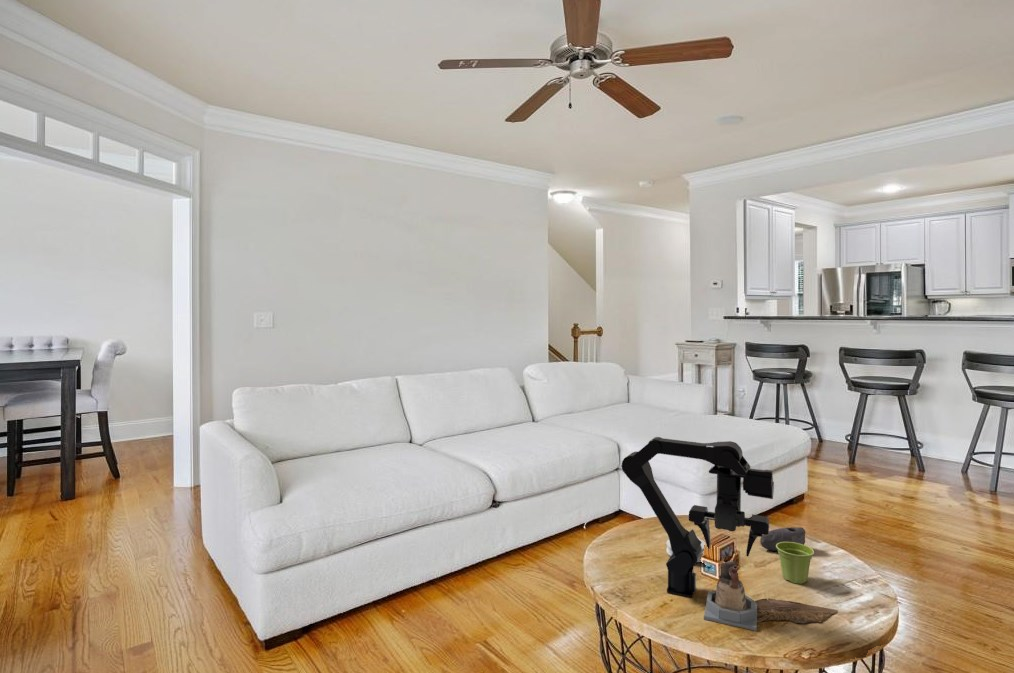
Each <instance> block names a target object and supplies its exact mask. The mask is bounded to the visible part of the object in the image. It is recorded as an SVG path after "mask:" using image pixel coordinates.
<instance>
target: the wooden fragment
mask: <svg viewBox="0 0 1014 673" xmlns="http://www.w3.org/2000/svg"><path fill="white" fill-rule="evenodd" d="M754 601H755V602H756V604H757V623H762V622H764V621H765V622H766V621H767V622H769V621H774V622H775V621H777V622H780V621H784V622H785V621H788V622H791V623H796V624H808V623H812V622H813V623H818V624H820V623H821V624H822V623H824V621H826V620H827V619H828V618H830V616H832V615H837V613H838V609H834V608H833V609H832V608H828V607H823V606H817V605H812V604H806V603H802V602H797V601H792V600H782V599H776V598H770V597H769V598H761V599H757V600H754Z"/></svg>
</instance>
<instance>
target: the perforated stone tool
mask: <svg viewBox="0 0 1014 673" xmlns="http://www.w3.org/2000/svg"><path fill="white" fill-rule="evenodd" d="M759 542H760V545H761V547H763V548H764V549H765V550H768V551H773V552H775V551H777V552H778V549H777V548H776V544H777V543H780V542H794V543H799V544H803V545H806V544H805V543H806V530H805V529H804V527H800V526H799V527H794V526H792V527H781V528H777V529H776V528H775V529H772V530H769V533H768V534H767V535H764V534H763V536H762V537H760V540H759Z"/></svg>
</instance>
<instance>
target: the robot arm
mask: <svg viewBox="0 0 1014 673" xmlns="http://www.w3.org/2000/svg"><path fill="white" fill-rule="evenodd" d="M659 454H660V455H665V456H666V455H667V456H676V457H681V458H689V459H696V460H697V459H698V460H703V461H705V462H708V463H709V464H712V465H713V466H711V468H710V469H709V470H708V474H713V475H716V505H715V507H714V511H709V510H708V507H707V506H702V505H697V504H694V505H692V506H691V508H690V509H689V511H688V521H689V522H691V523H693V525H695V526H697V527H699V529H700V530H701V532H702V534H703V539H704V542H706V544H707V547H708V549H709V550H710V549H711V530H710V528H711V527H710V520H711V521H714V527H715V529H717V530H727V531H729V532H735V531H737V527H738V528H740V527H743V528H744V527H745V526H746V527H749V534H748V540H747V546H746V552H745V553H746V557H749V555H750V553H751V551H752V548H753V545H754V543H755V541H756V539H757V538H758V537H759V538H761V537H762V536H763V534H764V535H767V534H768V533H769V531H770V519H769V517H768V516H765V515H757V514H753V513H752V515H751V517H749V518H748V517H746V513H745V511H741V508H742V507H741V506H742V503H741V502H742V499H741V498H742V497H741V496H742V491H744V493H745V494H747V496H750V497H754V498H755V497H756V498H762V499H769V500H773V499H774V493H775V481H774V477H773V470H771V469H757V468H751V465H750V463H749V462H748V461H747V460H746V458H745V457H744V455H743V450H742V447H741V446H740V445H739V444H738V443H737V442H734V441H730V440H729V441H716V442H705V443H703V442H696V441H687V440H679V439H671V438H663V437H660V436H655V437H653V438H652V439H650V440H649V441H648V443H647V444H645V445H644V446H643V447H642V448H641V449H640V450H638V451H633V452H631V453H630V454H628V455H627V456H626V457H624V458H623V460H622V461H621V466H620V467H621V470H622V473H623V474H624V475H625V476H626V478H628V479H629V480H630V482H631V483H633V484H634V485H635V486H637V487H638V488H639V489H640V491H641V493H642V494H643V496H644V498H645V499H646V502H648V504H649V506H650V508H651V509H652V511H653V512H654V515H655V516H656V517H657V519H658V521H659V523H660V525H661V526H662V527H663V529H664V531H665V533H666V534H667V537H668V539H669V541H670V545H671V549H672V552H673V554H672V555H671V556H669V558H668V560H666V563H665V566H666V568H667V587H666V592H667V593H669V594H673V595H678V596H684V597H688V598H693V595H694V593H695V592H696V589H697V585H696V584H697V579H696V578H697V573H695V571H694V569H695V566H696V564H697V563H698V562H697V561H698V560H699V558H700V556H701V553H702V547H701V543H702V542H701V541H700V540H699V539H700V538H699V537H698V536H697V533H696V532H695V530H694V529H691V530H687V528H685V527H684V526H683V525H682V524H681V522H680V519H678V516H677V515H676V513H675V512H674V510H673V509H672V507H671V505H670V503H669V502H668V500H667V499H666V496H665V495H664V493H663V492H662V490H661V488H660V487H659V485H658V484H657V482H656V480H655V478H654V473H653V468H652V466H651V464H650V462H649V461H650V460H652V459H653V458H654V457H655V456H656V455H659ZM742 479H743V480H742ZM698 538H699V539H698Z"/></svg>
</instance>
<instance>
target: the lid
mask: <svg viewBox="0 0 1014 673" xmlns="http://www.w3.org/2000/svg"><path fill="white" fill-rule="evenodd" d="M697 538H698V539H699V540H700V541H701V542H702V543H701V547H702V553H701V556H700V558H699V560H698V561H697V563H700V562H701V560H700V559H701V557H702V555H703V551H704V545H705V543H706V541H705V540H703V539H702V538H699V537H697ZM665 543H666V544H665V545H666V550H665V551H666V554H667V555H668V556H669V557H671V555H672V554H673V552H672V549H671V545H670V541H669V538H668V539H667V540H666V542H665ZM701 563H702V562H701Z"/></svg>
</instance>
